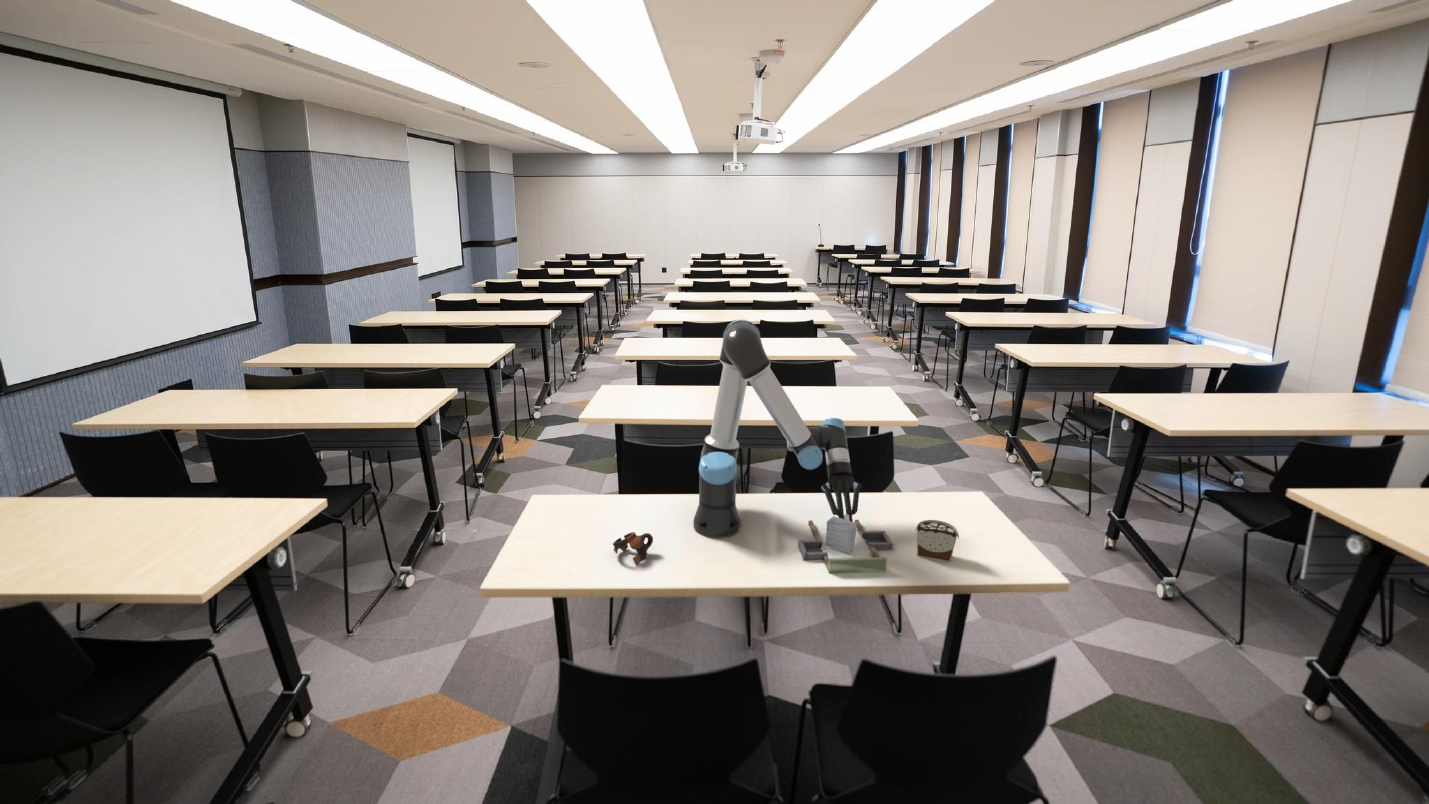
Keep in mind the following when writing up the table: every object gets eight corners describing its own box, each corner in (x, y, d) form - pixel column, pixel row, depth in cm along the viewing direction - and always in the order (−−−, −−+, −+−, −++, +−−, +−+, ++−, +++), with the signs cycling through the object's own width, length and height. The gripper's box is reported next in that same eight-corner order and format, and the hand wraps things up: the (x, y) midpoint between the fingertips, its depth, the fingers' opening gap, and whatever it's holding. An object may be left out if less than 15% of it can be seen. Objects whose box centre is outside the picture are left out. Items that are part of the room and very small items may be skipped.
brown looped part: (628, 570, 193) (615, 545, 193) (618, 569, 201) (605, 545, 201) (663, 549, 199) (650, 524, 199) (651, 549, 207) (639, 525, 207)
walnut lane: (808, 524, 221) (808, 513, 219) (857, 523, 222) (858, 512, 220) (828, 573, 193) (829, 560, 192) (885, 571, 194) (886, 559, 193)
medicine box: (854, 548, 206) (857, 522, 204) (848, 554, 203) (851, 528, 200) (831, 540, 211) (833, 515, 208) (824, 546, 207) (826, 520, 205)
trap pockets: (794, 538, 212) (795, 532, 211) (884, 536, 214) (884, 530, 213) (803, 560, 199) (803, 554, 198) (897, 558, 201) (898, 552, 200)
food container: (955, 552, 205) (959, 523, 202) (955, 562, 199) (959, 532, 196) (913, 545, 209) (916, 516, 206) (912, 555, 203) (915, 525, 200)
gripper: (855, 468, 223) (865, 539, 212) (816, 469, 222) (824, 540, 211) (861, 459, 216) (872, 532, 206) (820, 460, 215) (830, 533, 204)
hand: (848, 536), depth 208 cm, fingers closed
